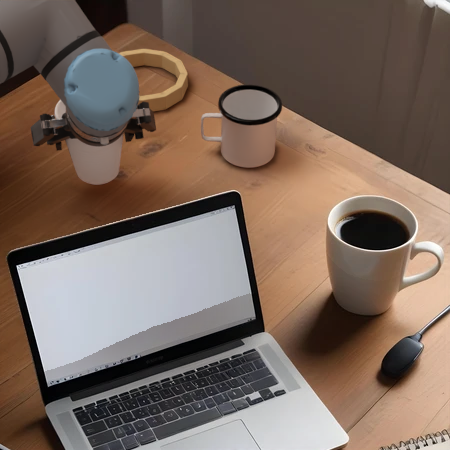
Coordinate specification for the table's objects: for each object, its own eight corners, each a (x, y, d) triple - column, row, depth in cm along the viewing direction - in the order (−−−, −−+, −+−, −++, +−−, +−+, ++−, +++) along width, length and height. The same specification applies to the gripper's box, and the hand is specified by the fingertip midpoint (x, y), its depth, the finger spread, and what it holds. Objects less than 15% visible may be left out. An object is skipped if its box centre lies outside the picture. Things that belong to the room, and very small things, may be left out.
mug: (277, 133, 133) (281, 84, 126) (278, 172, 126) (283, 122, 120) (202, 131, 132) (202, 82, 126) (199, 170, 126) (199, 120, 119)
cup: (60, 154, 124) (51, 91, 115) (127, 147, 125) (123, 84, 117) (66, 198, 118) (57, 135, 109) (136, 191, 119) (132, 128, 111)
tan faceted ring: (88, 105, 136) (87, 92, 134) (115, 56, 145) (114, 44, 143) (174, 118, 134) (173, 105, 133) (195, 68, 143) (195, 55, 142)
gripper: (8, 154, 97) (19, 172, 119) (194, 131, 101) (171, 153, 123) (-3, 88, 96) (10, 119, 118) (184, 68, 100) (163, 101, 122)
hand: (92, 136), depth 120 cm, fingers closed on cup, 9 cm apart
